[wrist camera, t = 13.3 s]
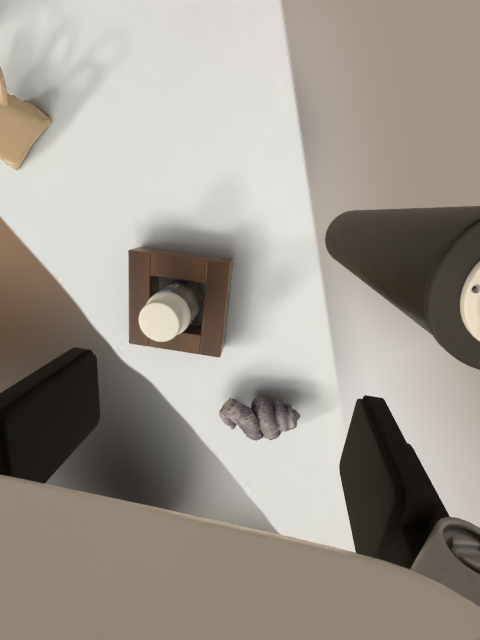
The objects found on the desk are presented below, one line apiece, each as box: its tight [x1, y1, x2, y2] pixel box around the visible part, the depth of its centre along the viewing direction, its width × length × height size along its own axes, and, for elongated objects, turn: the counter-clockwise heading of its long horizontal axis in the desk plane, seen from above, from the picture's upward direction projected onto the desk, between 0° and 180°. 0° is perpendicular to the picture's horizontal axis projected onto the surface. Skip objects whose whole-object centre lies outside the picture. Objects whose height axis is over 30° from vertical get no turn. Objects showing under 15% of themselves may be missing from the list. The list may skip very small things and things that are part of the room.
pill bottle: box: [139, 280, 203, 342], centre depth 33 cm, size 5×5×8 cm
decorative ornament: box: [0, 68, 52, 170], centre depth 30 cm, size 4×8×5 cm, turn 130°
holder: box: [129, 247, 233, 357], centre depth 35 cm, size 11×11×3 cm
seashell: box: [220, 396, 300, 440], centre depth 38 cm, size 5×5×10 cm
